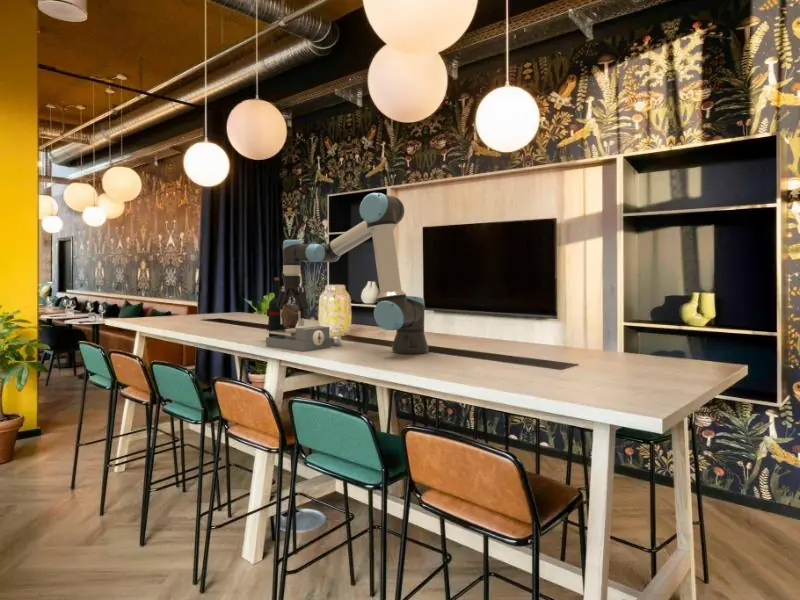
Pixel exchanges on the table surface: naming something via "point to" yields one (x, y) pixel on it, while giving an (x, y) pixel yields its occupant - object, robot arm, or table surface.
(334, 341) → the spacer
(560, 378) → the table surface
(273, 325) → the wine bottle
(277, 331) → the pan
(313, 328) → the scale base
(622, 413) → the table surface
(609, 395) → the table surface
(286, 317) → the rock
